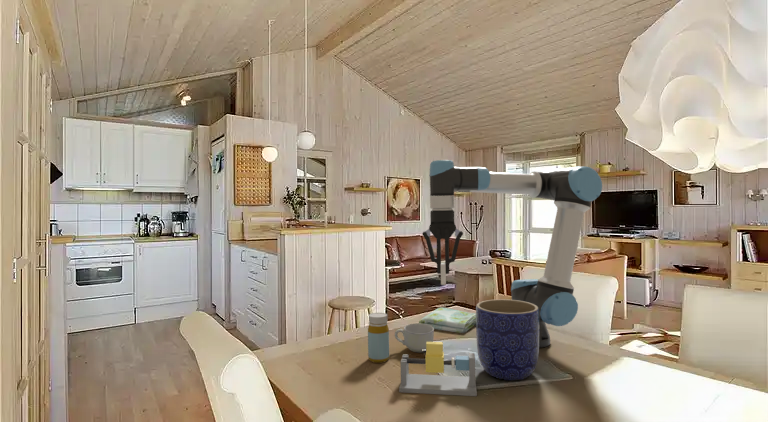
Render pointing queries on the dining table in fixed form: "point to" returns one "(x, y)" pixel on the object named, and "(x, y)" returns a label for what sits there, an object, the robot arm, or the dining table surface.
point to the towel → (450, 320)
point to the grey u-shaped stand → (440, 378)
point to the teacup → (416, 336)
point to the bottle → (378, 338)
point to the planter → (507, 338)
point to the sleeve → (434, 357)
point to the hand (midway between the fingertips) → (443, 284)
